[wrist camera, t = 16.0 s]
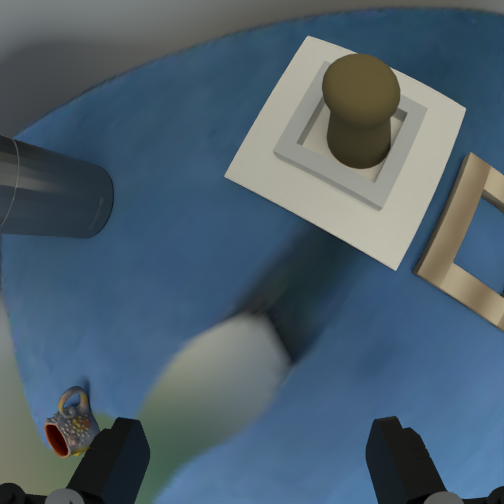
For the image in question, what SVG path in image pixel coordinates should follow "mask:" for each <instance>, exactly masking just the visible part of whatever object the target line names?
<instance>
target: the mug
mask: <svg viewBox="0 0 504 504" xmlns="http://www.w3.org/2000/svg"><path fill="white" fill-rule="evenodd" d="M75 393H78V394H80V403H79V404H78V405H77V406H70V407H65V408H64V404H65V402H66V400H67V399H68V398H69V397H70V396H71V395H73V394H75ZM58 410H59V411H58V412H57V413H56V414H54V416H53V418H47V419H46V422H45V425H44V430H45V434H46V437H47V440H48V442H49V444H50V446H51V447H52V449H53V450H54V452H55V453H56V454H57V455H58V456H60V457H62V458H66V457H69V456H71V455H74V456H80V455H81V454H82V453H83V452H86V451H87V449H89V446H90V444H91V442H92V441H93V439H94V437H95V436H96V435H97V434H99V433H100V430H99V427H98V424H97V422H96V420H95V418H94V417H93V415H92V413H91V412H90V409H89V403H88V397H87V394H86V392H85V390H84V389H83V388H81V387H79V386H74V387H71V388H69V389H67V390H66V391H65V392H64V393H63V395H62V396H61V398H60V400H59V403H58Z"/></svg>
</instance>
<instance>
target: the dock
mask: <svg viewBox="0 0 504 504" xmlns="http://www.w3.org/2000/svg"><path fill="white" fill-rule="evenodd" d="M348 54H357V53H355V52H353V51H350V50H348V49H345V48H342V47H340V46H337V45H334V44H331V43H328V42H326V41H323V40H320V39H317V38H314V37H310V36H307V37H306V39H305V40H304V42H303V43H302V45H301V47H300V48H299V50H298V51H297V53H296V54H295V56H294V58H293V59H292V61H291V62H290V64H289V66H288V67H287V69H286V70H285V72H284V74H283V75H282V77H281V79H280V80H279V82H278V83H277V85H276V87H275V88H274V90H273V92H272V93H271V95H270V97H269V98H268V100H267V102H266V103H265V105H264V107H263V108H262V110H261V112H260V114H259V115H258V117H257V119H256V120H255V122H254V124H253V126H252V127H251V129H250V131H249V133H248V134H247V136H246V138H245V140H244V141H243V143H242V145H241V147H240V148H239V150H238V152H237V154H236V156H235V157H234V159H233V161H232V163H231V165H230V166H229V168H228V170H227V172H226V174H225V175H224V177H226V178H227V179H229V180H231V181H233V182H235V183H237V184H239V185H241V186H243V187H245V188H246V189H248V190H250V191H252V192H254V193H256V194H258V195H260V196H262V197H264V198H266V199H268V200H270V201H271V202H273V203H275V204H277V205H279V206H281V207H283V208H285V209H286V210H288V211H290V212H292V213H294V214H296V215H298V216H299V217H301V218H303V219H305V220H307V221H309V222H310V223H312V224H314V225H316V226H318V227H319V228H321V229H323V230H325V231H327V232H328V233H330V234H332V235H334V236H336V237H337V238H339V239H341V240H343V241H344V242H346V243H348V244H350V245H351V246H353V247H355V248H357V249H358V250H360V251H362V252H364V253H365V254H367V255H369V256H370V257H372V258H374V259H376V260H377V261H379V262H381V263H382V264H384V265H386V266H387V267H389V268H391V269H392V270H395V271H396V270H397V268H398V266H399V264H400V262H401V260H402V259H403V257H404V255H405V253H406V251H407V249H408V247H409V245H410V243H411V241H412V239H413V237H414V235H415V233H416V231H417V229H418V227H419V225H420V223H421V221H422V218H423V216H424V214H425V212H426V210H427V208H428V205H429V203H430V201H431V199H432V197H433V194H434V192H435V190H436V187H437V185H438V183H439V180H440V178H441V176H442V173H443V171H444V168H445V166H446V163H447V161H448V158H449V156H450V153H451V150H452V148H453V145H454V143H455V140H456V137H457V134H458V131H459V129H460V126H461V123H462V120H463V117H464V114H465V111H466V108H464V107H463V106H461V105H459V104H458V103H456V102H454V101H453V100H451V99H449V98H448V97H446V96H444V95H443V94H441V93H439V92H437V91H435V90H434V89H432V88H430V87H428V86H426V85H424V84H423V83H421V82H419V81H417V80H415V79H413V78H411V77H409V76H407V75H405V74H403V73H401V72H399V71H397V70H395V69H392V68H391V70H392V71H393V72H394V74H395V75H396V77H397V80H398V83H399V86H400V90H401V92H400V102H399V105H398V107H397V110H396V112H395V114H394V115H393V116H392V117H391V118H390V121H391V146H390V150H389V152H388V154H387V156H386V158H385V159H384V160H383V161H382V162H381V163H380V164H378V165H376V166H374V167H372V168H367V169H356V168H350V167H348V166H346V165H344V164H342V163H340V162H339V161H338V160H337V159H336V158H335V157H334V156H333V155H332V153H331V151H330V149H329V147H328V143H327V138H326V137H327V130H328V124H329V117H330V110H329V108H328V107H327V105H326V103H325V101H324V97H323V92H322V82H323V76H324V74H325V72H326V70H327V69H328V67H329V65H331V64H332V63H333V62H334V61H335V60H337V59H338V58H341V57H343V56H346V55H348Z"/></svg>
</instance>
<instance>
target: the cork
mask: <svg viewBox="0 0 504 504" xmlns="http://www.w3.org/2000/svg"><path fill="white" fill-rule="evenodd" d="M322 92H323V97H324V101H325V103H326V105H327V107H328V108H329V110H330V117H329V124H328V130H327V137H326V138H327V143H328V147H329V149H330V151H331V153H332V155H333V156H334V157H335V158H336V159H337V160H338V161H339V162H340V163H342V164H344V165H346V166H348V167H350V168H356V169H367V168H372V167H374V166H376V165H378V164H380V163H381V162H382V161H383V160H384V159H385V158H386V156H387V154H388V152H389V150H390V146H391V121H390V118H391V117H392V116H393V115H394V114H395V112H396V110H397V107H398V105H399V102H400V92H401V90H400V86H399V83H398V80H397V77H396V75H395V74H394V72H393V71H392V70H391V68H390V67H389V66H388V65H386V64H385V63H384V62H382V61H381V60H380V59H378V58H375V57H373V56H371V55H366V54H360V53H357V54H348V55H346V56H343V57H341V58H338V59H337V60H335V61H334V62H333V63H332V64H331V65H329V67H328V69H327V70H326V72H325V74H324V76H323V82H322Z"/></svg>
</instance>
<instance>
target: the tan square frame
mask: <svg viewBox="0 0 504 504" xmlns="http://www.w3.org/2000/svg"><path fill="white" fill-rule="evenodd" d="M480 197H483V198H484V199H486V200H487V201H488V202H490V203H491V204H492V205H494V206H495V207H496V208H498V209H499V210H500V211H502V212H503V213H504V176H503V175H502V174H501V173H499V172H498V171H497V170H495V169H494V168H493V167H491V166H490V165H489V164H487V163H486V162H484V161H483V160H481V159H480V158H479V157H477V156H476V155H474V154H473V153H471V152H470V153H469V154H468V155H467V156H466V157H464V159H463V161H462V164H461V167H460V169H459V172H458V174H457V177H456V179H455V182H454V184H453V187H452V189H451V192H450V194H449V197H448V199H447V201H446V204H445V206H444V208H443V210H442V213H441V215H440V217H439V219H438V222H437V224H436V226H435V228H434V230H433V232H432V234H431V236H430V239H429V241H428V243H427V245H426V247H425V249H424V251H423V253H422V255H421V257H420V259H419V261H418V263H417V264H416V266H415V268H414V270H413V272H412V273H414V274H415V275H417V276H419V277H420V278H422V279H423V280H425V281H427V282H428V283H430V284H431V285H433V286H435V287H436V288H438V289H439V290H441V291H442V292H444V293H446V294H447V295H449V296H450V297H452V298H453V299H455V300H456V301H458V302H459V303H461V304H463V305H464V306H466V307H467V308H469V309H470V310H472V311H473V312H475V313H476V314H478V315H479V316H481V317H482V318H483V319H485V320H486V321H488V322H489V323H491V324H492V325H494V326H495V327H497V328H498V329H499V330H501V331H502V332H504V292H503V294H502V296H500V295H499V294H497V293H496V292H495V291H493V290H492V289H490V288H489V287H488V286H486V285H485V284H483V283H482V282H480V281H479V280H478V279H476V278H475V277H473V276H472V275H470V274H469V273H467V272H466V271H464V270H463V269H462V268H460V267H459V266H457V265H456V264H454V263H453V260H454V258H455V256H456V254H457V252H458V250H459V247H460V245H461V243H462V241H463V239H464V236H465V234H466V232H467V229H468V227H469V225H470V222H471V220H472V218H473V215H474V213H475V210H476V208H477V205H478V202H479V200H480Z"/></svg>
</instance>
